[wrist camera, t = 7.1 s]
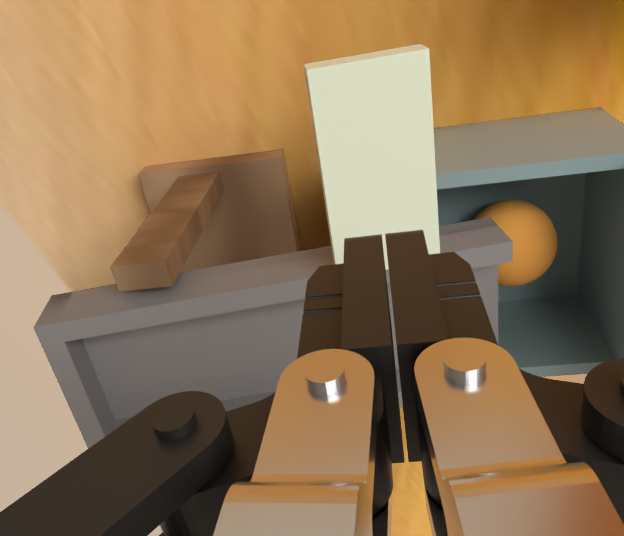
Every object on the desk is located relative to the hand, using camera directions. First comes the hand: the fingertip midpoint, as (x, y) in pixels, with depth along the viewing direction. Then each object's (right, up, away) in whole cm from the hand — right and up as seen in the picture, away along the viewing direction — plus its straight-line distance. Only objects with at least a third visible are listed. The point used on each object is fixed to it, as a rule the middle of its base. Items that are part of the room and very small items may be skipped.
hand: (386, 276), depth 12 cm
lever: (-3, +1, +11) cm, 11 cm away
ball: (+8, +1, +16) cm, 18 cm away
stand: (-6, +1, +20) cm, 21 cm away
